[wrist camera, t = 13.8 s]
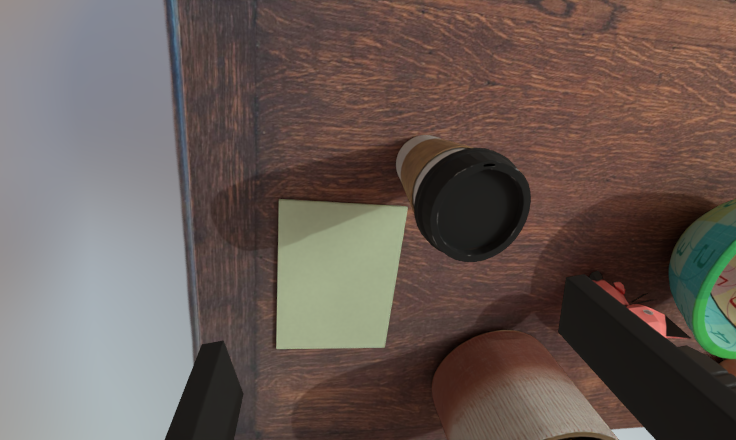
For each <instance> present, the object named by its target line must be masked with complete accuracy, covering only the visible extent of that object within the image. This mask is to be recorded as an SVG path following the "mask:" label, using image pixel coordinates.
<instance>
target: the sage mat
mask: <svg viewBox="0 0 736 440" xmlns="http://www.w3.org/2000/svg"><path fill="white" fill-rule="evenodd" d="M407 210H408V207H407V206H392V205H375V204H357V203H340V202H322V201H305V200H288V199H279V219H278V276H277V333H276V349H315V348H385V342H386V336H387V330H388V324H389V318H390V312H391V306H392V300H393V294H394V288H395V282H396V276H397V270H398V264H399V258H400V252H401V246H402V240H403V234H404V228H405V222H406V216H407Z"/></svg>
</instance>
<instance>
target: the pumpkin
mask: <svg viewBox="0 0 736 440" xmlns="http://www.w3.org/2000/svg"><path fill="white" fill-rule="evenodd" d="M719 365H721V366H722V367H723V368H725V369H726V370H727V372H728V373H729V374H730V373H731V374H733V375H734V376H735V377H736V359H728V358H727V359H725V360H724V361H722V362H721V363H719Z"/></svg>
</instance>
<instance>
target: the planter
mask: <svg viewBox="0 0 736 440" xmlns="http://www.w3.org/2000/svg"><path fill="white" fill-rule="evenodd" d="M432 397H433V401H434V404H435V407H436V410H437V413H438V416H439V419H440V421H441V424H442V427H443V429H444V432H445V435H446V437H447V440H619V439H618V438H617V437H616V436H615V434H614V433H613V432H612V431H611V429H610V428H609V427H608V426H607V424H606V423H605V422H604V421H603V420H602V418H601V417H600V416H599V415H598V413H597V412H596V411H595V410H594V408H593V407H592V406H591V405H590V403H589V402H588V401H587V399H586V398H585V397H584V396H583V394H582V393H581V392H580V391H579V389H578V388H577V387H576V386H575V384H574V383H573V382H572V380H571V379H570V378H569V377H568V375H567V374H566V373H565V372H564V370H563V369H562V368H561V366H560V365H559V364H558V363H557V361H556V360H555V359H554V358H553V356H552V355H551V354H550V353H549V352H548V350H547V349H546V348H545V347H544V346H543V345H542V344H541V343H540V342H539V341H538V340H537V339H536V338H534V337H533V336H531V335H529V334H526V333H523V332H520V331H514V330H498V331H492V332H487V333H483V334H480V335H477V336H475V337H473V338H471V339H469V340H467V341H465V342H463V343H461V344H460V345H458V346H457V347H456V348H455V349H453V350H452V351H451V352H450V353H449V354H448V355H447V356H446V357H445V358H444V359H443V361H442V362H441V363H440V365H439V366H438V368H437V370H436V372H435V374H434V377H433V381H432Z"/></svg>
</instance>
